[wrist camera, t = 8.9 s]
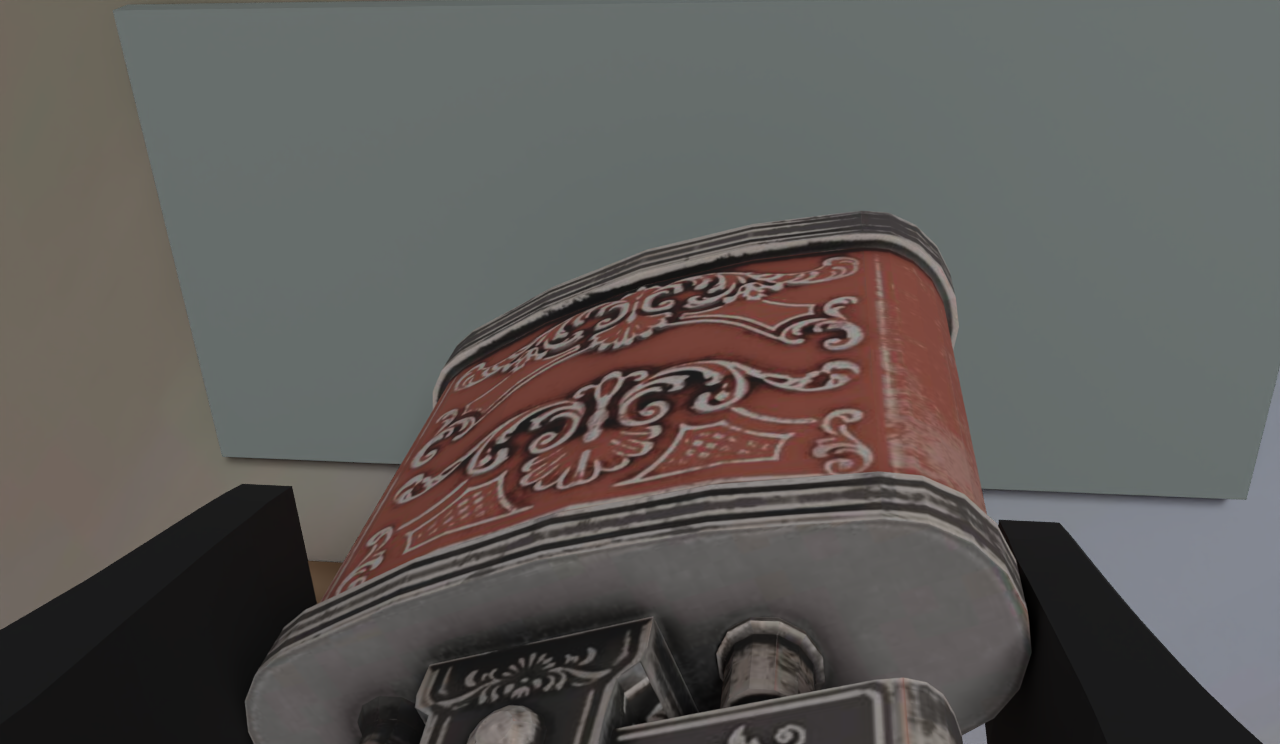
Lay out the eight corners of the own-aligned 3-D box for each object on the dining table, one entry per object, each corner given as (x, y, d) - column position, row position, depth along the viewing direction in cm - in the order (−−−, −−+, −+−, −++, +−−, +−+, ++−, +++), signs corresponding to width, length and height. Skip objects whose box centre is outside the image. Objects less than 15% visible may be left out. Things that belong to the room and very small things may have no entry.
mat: (1359, -13, 18) (1373, -6, 17) (1237, 484, 22) (1245, 499, 21) (128, 4, 20) (112, 9, 20) (232, 444, 25) (222, 456, 24)
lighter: (499, 496, 20) (238, 1097, 11) (411, 324, 18) (33, 852, 10) (978, 372, 17) (1131, 1009, 9) (918, 164, 16) (1025, 671, 7)
